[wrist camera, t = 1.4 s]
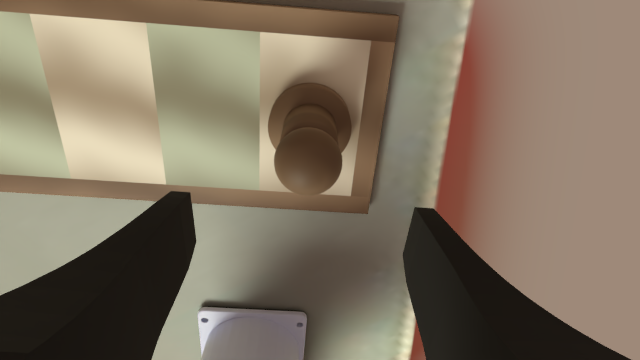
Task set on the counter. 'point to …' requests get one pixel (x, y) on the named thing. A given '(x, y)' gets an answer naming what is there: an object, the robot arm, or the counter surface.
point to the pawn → (309, 137)
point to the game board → (181, 97)
